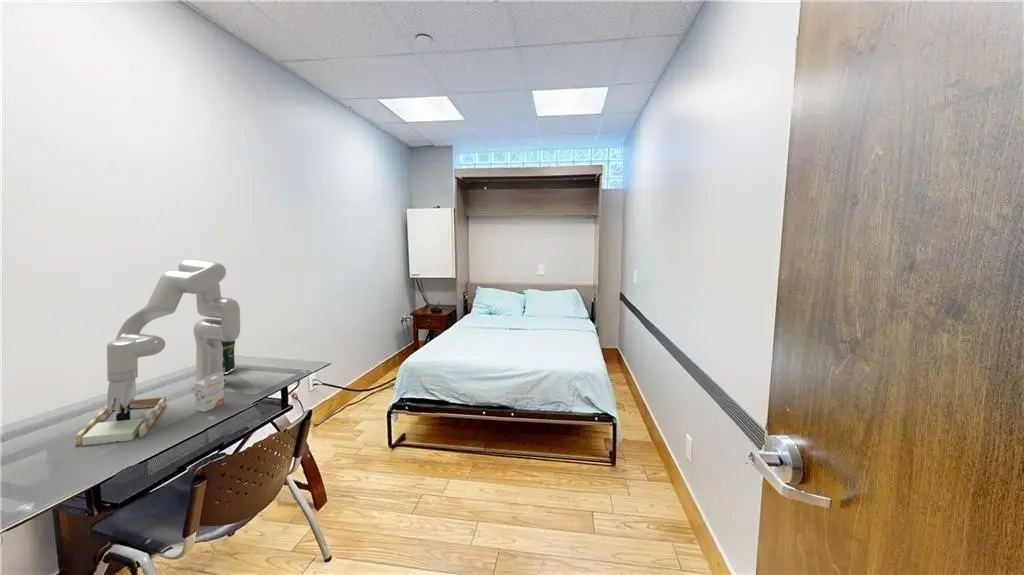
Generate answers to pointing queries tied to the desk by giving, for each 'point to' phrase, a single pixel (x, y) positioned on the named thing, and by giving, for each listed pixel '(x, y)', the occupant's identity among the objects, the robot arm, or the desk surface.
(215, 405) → the ink cartridge box
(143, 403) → the wooden frame
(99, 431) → the cover plate
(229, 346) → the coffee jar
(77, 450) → the desk surface
